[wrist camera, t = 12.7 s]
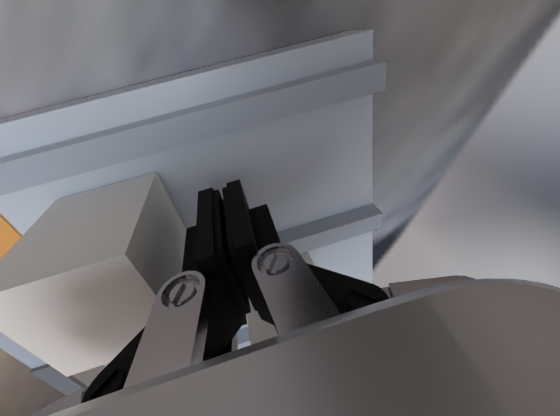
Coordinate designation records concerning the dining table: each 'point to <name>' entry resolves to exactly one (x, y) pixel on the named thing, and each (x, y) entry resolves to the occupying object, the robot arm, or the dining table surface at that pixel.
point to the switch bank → (216, 153)
